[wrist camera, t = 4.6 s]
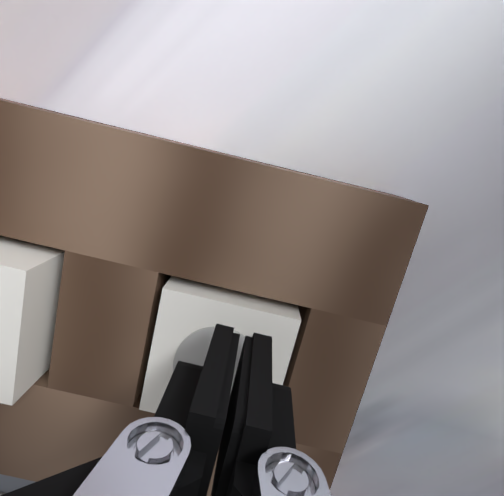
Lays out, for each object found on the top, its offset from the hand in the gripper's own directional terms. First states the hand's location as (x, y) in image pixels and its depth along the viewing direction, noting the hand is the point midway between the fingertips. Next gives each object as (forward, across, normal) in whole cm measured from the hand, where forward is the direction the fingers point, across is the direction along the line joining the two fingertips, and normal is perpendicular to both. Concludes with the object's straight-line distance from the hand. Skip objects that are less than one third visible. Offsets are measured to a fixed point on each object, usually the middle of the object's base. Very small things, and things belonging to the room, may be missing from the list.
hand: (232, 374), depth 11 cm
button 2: (+4, +1, +1) cm, 4 cm away
